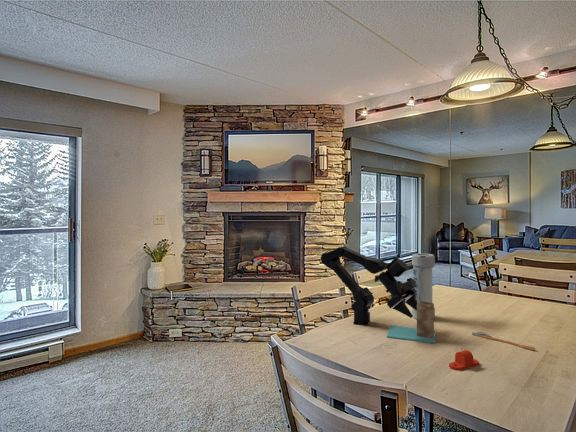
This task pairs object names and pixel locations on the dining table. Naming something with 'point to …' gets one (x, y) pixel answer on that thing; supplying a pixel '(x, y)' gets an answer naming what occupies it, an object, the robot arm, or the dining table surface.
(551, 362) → the dining table surface
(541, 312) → the dining table surface
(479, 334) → the axe
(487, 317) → the dining table surface
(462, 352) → the bracket
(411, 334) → the mat
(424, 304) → the walnut block
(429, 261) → the canister
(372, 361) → the dining table surface
